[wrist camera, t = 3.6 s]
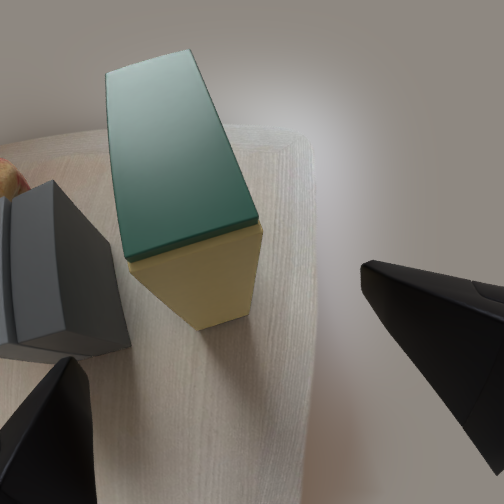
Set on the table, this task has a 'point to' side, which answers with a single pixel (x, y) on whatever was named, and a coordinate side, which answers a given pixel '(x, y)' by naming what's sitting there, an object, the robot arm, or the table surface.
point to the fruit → (11, 181)
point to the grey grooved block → (55, 281)
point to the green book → (180, 192)
